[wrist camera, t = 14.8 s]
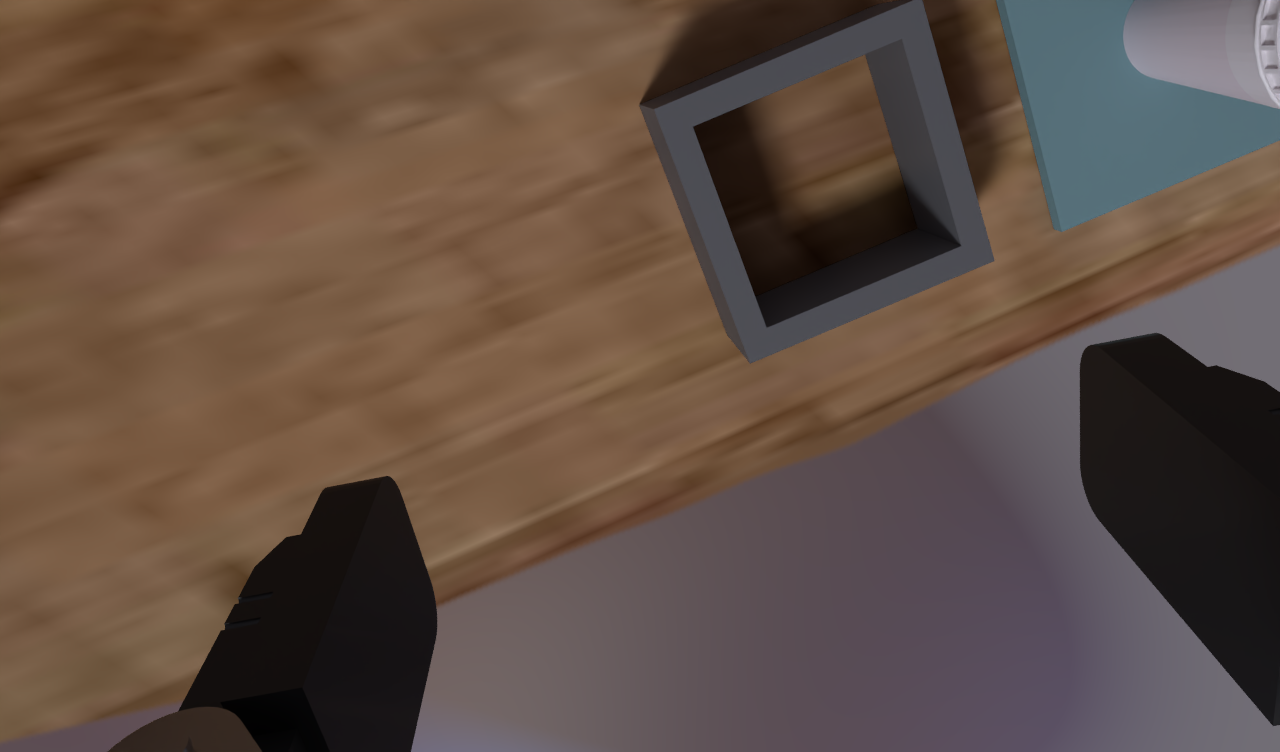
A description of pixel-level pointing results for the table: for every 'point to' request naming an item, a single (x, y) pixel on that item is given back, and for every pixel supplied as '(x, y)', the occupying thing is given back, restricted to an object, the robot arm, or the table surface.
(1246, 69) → the smoothie
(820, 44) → the frame
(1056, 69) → the coaster
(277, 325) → the table surface
